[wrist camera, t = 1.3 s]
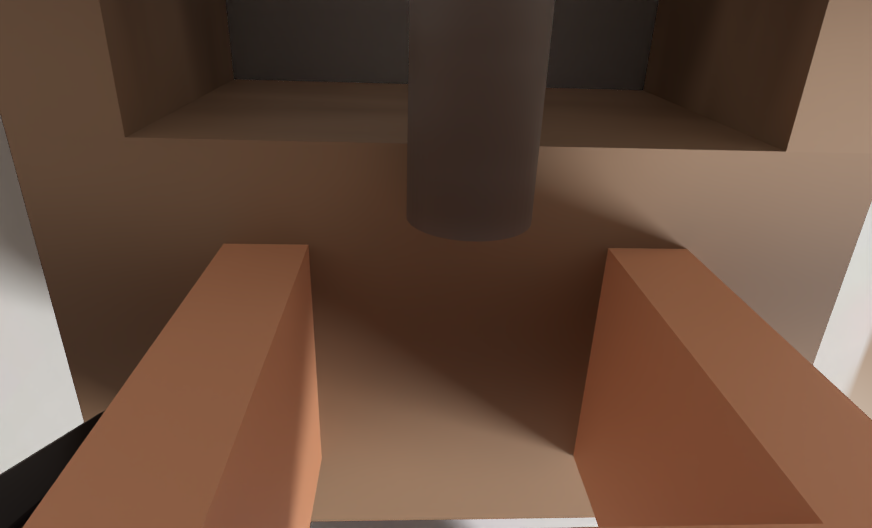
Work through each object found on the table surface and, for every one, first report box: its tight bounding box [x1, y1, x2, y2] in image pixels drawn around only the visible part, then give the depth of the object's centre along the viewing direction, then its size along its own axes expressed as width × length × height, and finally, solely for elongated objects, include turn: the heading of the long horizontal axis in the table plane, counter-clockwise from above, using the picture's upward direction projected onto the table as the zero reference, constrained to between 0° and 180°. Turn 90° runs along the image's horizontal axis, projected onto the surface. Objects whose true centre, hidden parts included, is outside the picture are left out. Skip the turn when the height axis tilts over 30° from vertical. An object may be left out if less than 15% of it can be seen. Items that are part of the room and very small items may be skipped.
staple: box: [23, 244, 872, 528], centre depth 7 cm, size 7×4×6 cm, turn 88°
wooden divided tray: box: [0, 0, 872, 522], centre depth 9 cm, size 16×12×7 cm
